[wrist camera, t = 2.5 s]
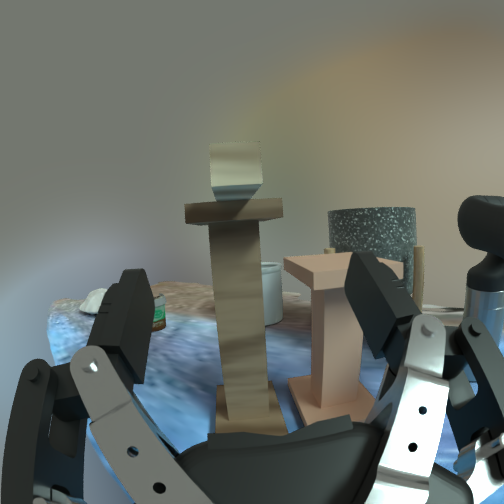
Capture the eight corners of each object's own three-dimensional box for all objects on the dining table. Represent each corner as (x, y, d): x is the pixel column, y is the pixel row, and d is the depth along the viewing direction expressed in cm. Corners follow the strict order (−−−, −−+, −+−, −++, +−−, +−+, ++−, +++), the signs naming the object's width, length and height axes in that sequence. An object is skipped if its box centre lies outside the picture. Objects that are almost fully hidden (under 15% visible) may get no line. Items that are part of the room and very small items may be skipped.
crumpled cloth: (117, 297, 120) (112, 279, 119) (155, 308, 99) (149, 286, 97) (76, 314, 103) (69, 295, 101) (103, 333, 81) (94, 308, 79)
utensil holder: (228, 323, 86) (223, 268, 84) (254, 310, 98) (251, 261, 96) (268, 330, 77) (265, 269, 76) (291, 314, 90) (289, 262, 88)
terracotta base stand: (384, 419, 32) (403, 262, 30) (310, 439, 31) (313, 272, 29) (346, 374, 48) (350, 252, 46) (287, 384, 47) (283, 257, 45)
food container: (150, 336, 75) (144, 303, 74) (137, 332, 78) (132, 301, 77) (177, 324, 86) (173, 294, 85) (164, 321, 89) (160, 292, 88)
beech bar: (262, 183, 18) (259, 141, 18) (211, 186, 18) (209, 143, 18) (241, 209, 44) (240, 191, 44) (220, 211, 44) (218, 192, 43)
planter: (323, 352, 60) (320, 210, 57) (335, 320, 80) (332, 213, 77) (417, 352, 51) (423, 206, 48) (406, 319, 71) (408, 210, 69)
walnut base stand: (289, 442, 31) (281, 197, 28) (216, 450, 30) (184, 204, 28) (271, 387, 47) (262, 208, 44) (217, 391, 46) (199, 212, 43)
